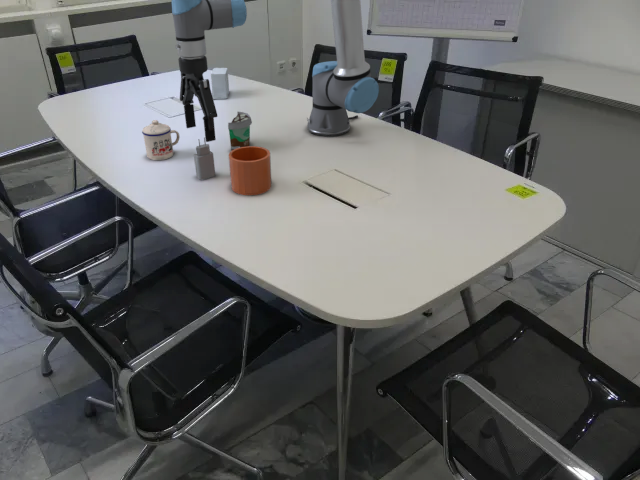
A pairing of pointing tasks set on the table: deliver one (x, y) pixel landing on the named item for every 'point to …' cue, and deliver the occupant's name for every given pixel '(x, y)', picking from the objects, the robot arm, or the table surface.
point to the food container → (240, 130)
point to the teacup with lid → (159, 140)
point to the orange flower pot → (250, 170)
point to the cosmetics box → (220, 83)
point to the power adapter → (204, 162)
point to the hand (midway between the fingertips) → (200, 133)
